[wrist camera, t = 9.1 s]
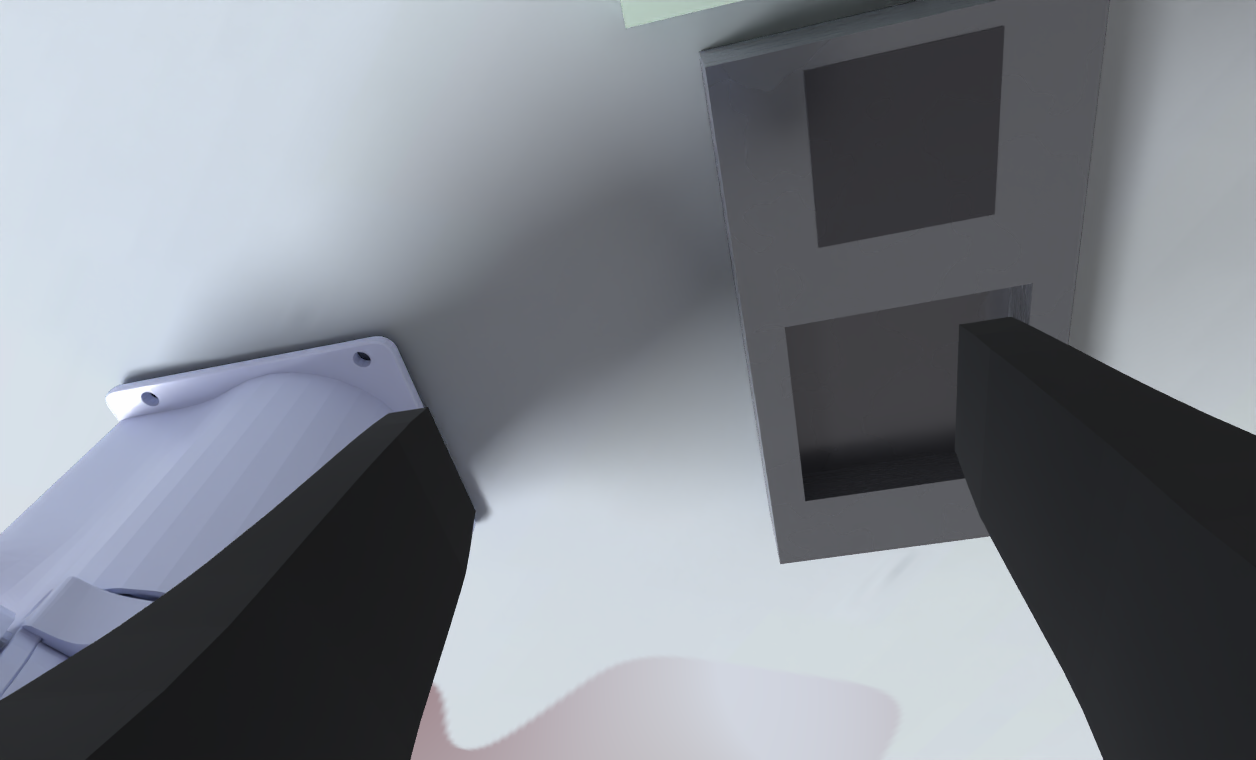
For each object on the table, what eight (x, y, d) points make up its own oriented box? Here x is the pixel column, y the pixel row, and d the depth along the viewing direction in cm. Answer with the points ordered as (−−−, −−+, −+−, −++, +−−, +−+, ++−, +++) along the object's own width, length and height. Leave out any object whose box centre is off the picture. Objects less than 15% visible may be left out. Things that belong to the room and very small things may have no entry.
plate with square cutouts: (770, 515, 25) (780, 565, 23) (698, 51, 17) (705, 68, 15) (1014, 480, 24) (1046, 529, 22) (1058, -33, 16) (1114, -27, 14)
